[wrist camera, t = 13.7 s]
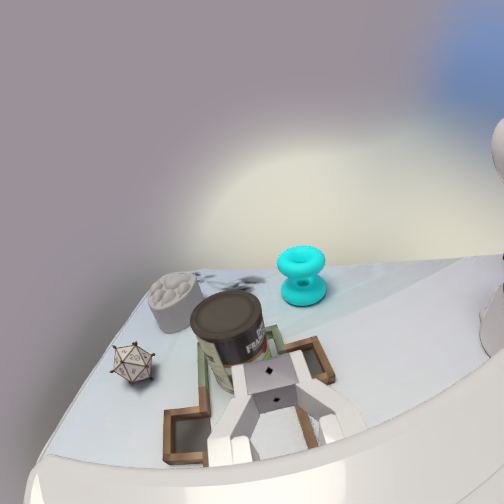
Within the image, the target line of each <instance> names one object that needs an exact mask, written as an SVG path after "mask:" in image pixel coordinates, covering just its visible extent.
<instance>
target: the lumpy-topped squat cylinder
mask: <svg viewBox="0 0 504 504" xmlns="http://www.w3.org/2000/svg"><path fill="white" fill-rule="evenodd" d="M203 300H204V298H203V295H202V292H201V290H200V287H199V284H198V281H197V278H196V276H195V275H193V274H169V275H167V276H165V277H163V278H162V279H161V280H159V282H155V283H153V284H152V286H151V292H150V293H149V296H148V304H149V306H150V309H151V311H152V313H153V315H154V317H155V319H156V321H157V322H158V324H159V326H160V328H161V330H162V331H163V332H165V333H168V334H172V333H177V332H179V331H182V330H184V329H186V328H187V327H189V326H190V315H191V313H192V311H193V309H194V308H195V307H196V306H197V305H198V304H199V303H200V302H201V301H203Z"/></svg>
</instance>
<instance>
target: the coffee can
mask: <svg viewBox="0 0 504 504" xmlns="http://www.w3.org/2000/svg"><path fill="white" fill-rule="evenodd" d="M190 326H191V328H192V330H193V332H194V333H195V335H196V337H197V339H198V341H199V343H200V346H201V348H202V350H203V352H204V354H205V356H206V358H207V360H208V362H209V364H210V367H211V369H212V371H213V373H214V375H215V377H216V379H217V382H218V384H219V385H220V386H221V387H222V388H223V389H224V390H226V391H227V392H230V393H233V394H234V387H233V379H232V371H231V368H232V366H235V365H240V364H245V363H250V362H255V361H260V360H265V359H267V358H271V354H270V349H269V344H268V340H267V335H266V330H265V326H264V321H263V317H262V309H261V304H260V302H259V300H258V298H257V297H255V296H254V295H253V294H251V293H248V292H245V291H240V290H230V291H223V292H219V293H216V294H214V295H211V296H209V297H207V298H206V299H204V300H203V301H201V302H200V303H199V304H198V305H197V306H196V307H195V308H194V309H193V311H192V313H191V315H190Z"/></svg>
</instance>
